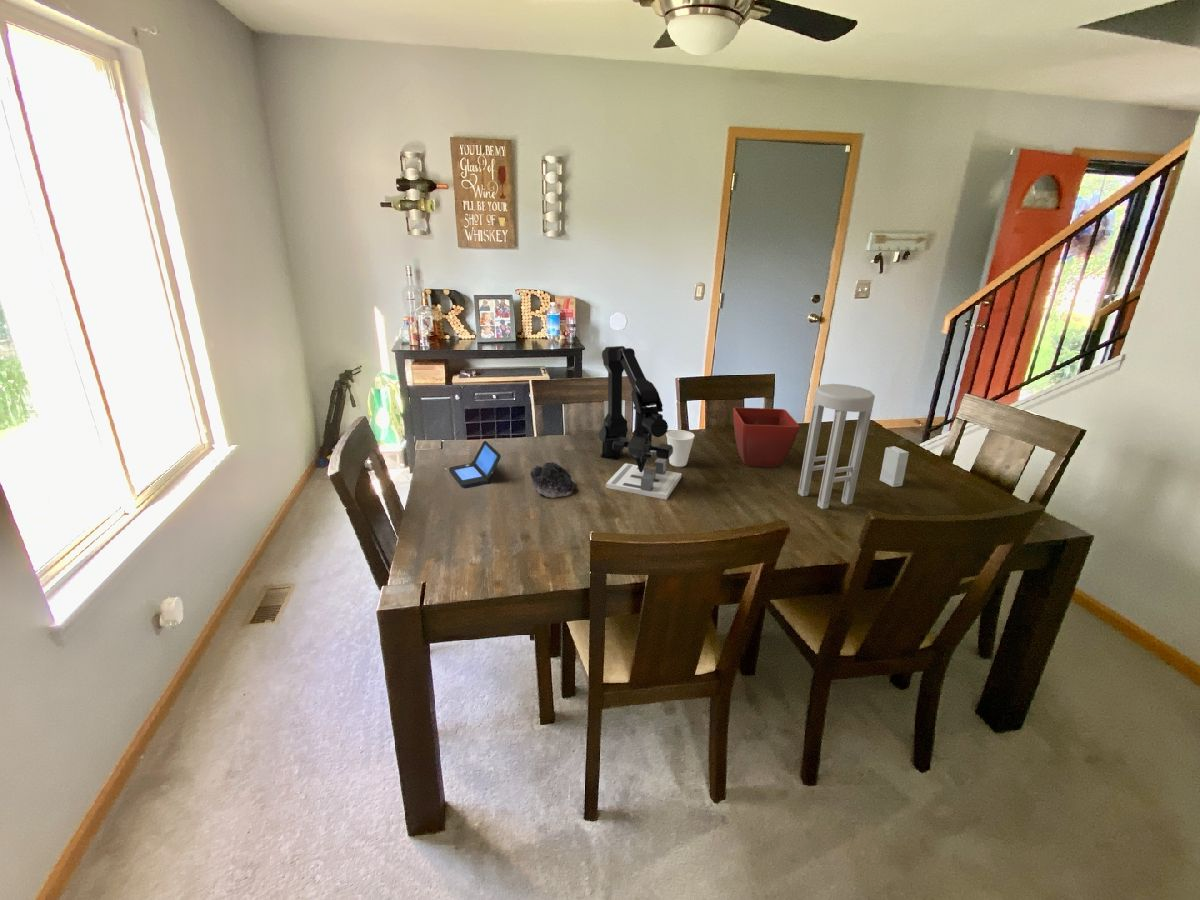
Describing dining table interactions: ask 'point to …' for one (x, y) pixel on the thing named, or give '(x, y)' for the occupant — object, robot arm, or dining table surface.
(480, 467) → the handheld game console
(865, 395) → the stool
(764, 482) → the dining table surface
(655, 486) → the panel
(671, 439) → the cup
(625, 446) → the robot arm
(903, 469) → the skincare box
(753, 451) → the plant pot
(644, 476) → the block
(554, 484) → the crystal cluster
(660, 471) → the block
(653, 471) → the block
